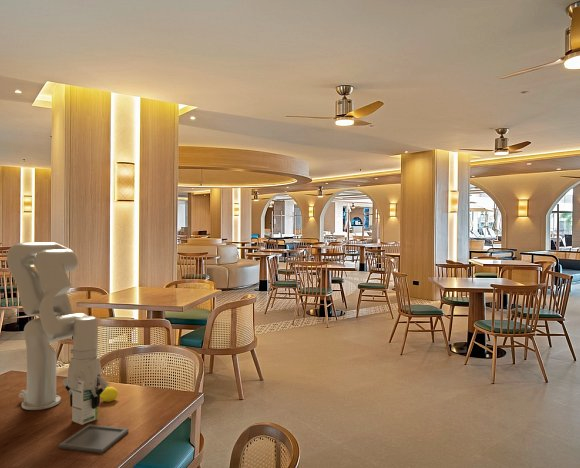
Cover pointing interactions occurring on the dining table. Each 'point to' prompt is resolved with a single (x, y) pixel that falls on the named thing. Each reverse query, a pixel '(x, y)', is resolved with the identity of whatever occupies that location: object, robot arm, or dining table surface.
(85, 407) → the syrup box
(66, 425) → the dining table surface
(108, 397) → the lemon
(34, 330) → the robot arm
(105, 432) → the slate tray
